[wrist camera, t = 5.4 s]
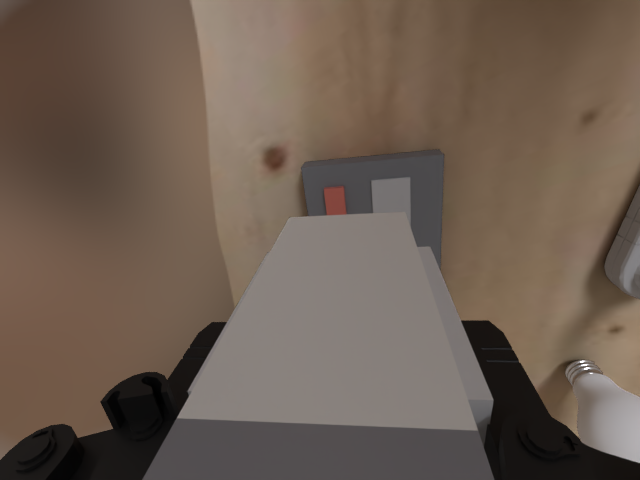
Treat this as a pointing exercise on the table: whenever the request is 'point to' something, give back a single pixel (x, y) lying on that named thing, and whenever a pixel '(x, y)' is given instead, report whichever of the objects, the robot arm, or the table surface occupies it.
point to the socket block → (382, 190)
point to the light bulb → (605, 411)
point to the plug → (331, 369)
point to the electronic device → (626, 252)
